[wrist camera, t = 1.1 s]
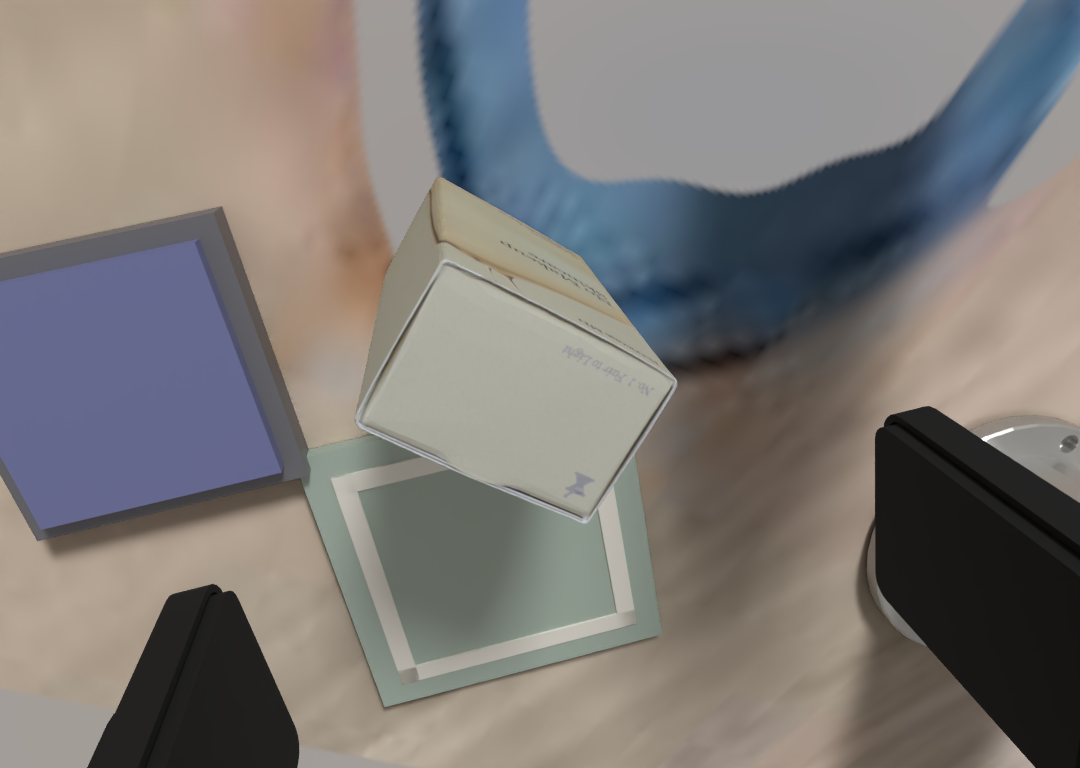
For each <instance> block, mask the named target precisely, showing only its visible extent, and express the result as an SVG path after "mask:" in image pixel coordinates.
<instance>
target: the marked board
mask: <svg viewBox="0 0 1080 768" xmlns="http://www.w3.org/2000/svg"><path fill="white" fill-rule="evenodd" d="M307 459H308V462H309V465H310V468H311V469H310V473H309V476H307V477H303V478H300V479H301V482H302V485H303V487H304V490H305V493H306V495H307V498H308V501H309V504H310V506H311V509H312V512H313V514H314V517H315V520H316V523H317V525H318V528H319V531H320V533H321V536H322V539H323V542H324V544H325V547H326V550H327V552H328V555H329V558H330V561H331V563H332V566H333V569H334V571H335V574H336V577H337V580H338V582H339V585H340V588H341V590H342V593H343V596H344V599H345V601H346V604H347V607H348V609H349V612H350V615H351V618H352V620H353V623H354V626H355V628H356V631H357V634H358V637H359V639H360V642H361V645H362V647H363V650H364V653H365V656H366V658H367V661H368V664H369V666H370V669H371V672H372V675H373V677H374V680H375V683H376V685H377V688H378V691H379V694H380V696H381V699H382V702H383V704H384V707H388V706H392V705H395V704H399V703H403V702H407V701H411V700H414V699H418V698H422V697H426V696H430V695H433V694H437V693H441V692H445V691H449V690H452V689H456V688H460V687H464V686H468V685H471V684H475V683H479V682H483V681H487V680H491V679H494V678H498V677H502V676H506V675H510V674H513V673H517V672H521V671H525V670H529V669H532V668H536V667H540V666H544V665H548V664H551V663H555V662H559V661H563V660H567V659H570V658H574V657H578V656H582V655H586V654H590V653H593V652H597V651H601V650H605V649H609V648H612V647H616V646H620V645H624V644H628V643H631V642H635V641H639V640H643V639H647V638H650V637H654V636H658V635H662V630H661V623H660V616H659V610H658V603H657V597H656V590H655V584H654V577H653V570H652V564H651V557H650V551H649V544H648V537H647V531H646V524H645V518H644V511H643V505H642V498H641V491H640V485H639V478H638V472H637V465H636V458H635V454H634V456H633V457H632V459H631V460H630V462H629V464H628V465H627V467H626V468H625V470H624V471H623V473H622V474H621V475H620V477H619V478H618V480H617V482H616V483H615V484H614V486H613V487H612V489H611V490H610V492H609V493H608V495H607V496H606V498H605V499H604V501H603V502H602V503H601V505H600V506H599V507H598V509H597V510H596V512H595V513H594V515H593V517H592V518H591V520H590V521H589V523H588V524H582V523H579V522H577V521H574V520H572V519H570V518H568V517H565V516H563V515H560V514H557V513H555V512H553V511H550V510H548V509H545V508H542V507H540V506H538V505H535V504H533V503H531V502H528V501H526V500H523V499H521V498H518V497H516V496H513V495H510V494H508V493H506V492H504V491H501V490H499V489H496V488H494V487H491V486H489V485H486V484H484V483H482V482H479V481H477V480H474V479H472V478H469V477H467V476H465V475H462V474H460V473H458V472H456V471H454V470H451V469H449V468H447V467H445V466H442V465H440V464H438V463H436V462H433V461H431V460H429V459H427V458H424V457H422V456H420V455H418V454H416V453H414V452H411V451H408V450H406V449H404V448H401V447H399V446H397V445H395V444H393V443H391V442H389V441H386V440H384V439H382V438H380V437H377V436H375V435H369V436H365V437H361V438H357V439H352V440H348V441H344V442H340V443H336V444H331V445H327V446H323V447H319V448H314V449H310V450H308V454H307Z"/></svg>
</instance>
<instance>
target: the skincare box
mask: <svg viewBox="0 0 1080 768" xmlns="http://www.w3.org/2000/svg"><path fill="white" fill-rule="evenodd" d="M676 388H677V380H676V379H675V377H674V376H673V375H672V374H671V373H670V372H669V370H668V369H667V368H666V367H665V366H664V364H663V363H662V362H661V361H660V359H659V358H658V357H657V355H656V354H655V353H654V352H653V351H652V349H651V348H650V347H649V345H648V344H647V343H646V341H645V340H644V339H643V337H642V336H641V335H640V333H639V332H638V331H637V330H636V328H635V327H634V326H633V325H632V324H631V322H630V321H629V320H628V318H627V317H626V316H625V314H624V313H623V312H622V310H621V309H620V308H619V306H618V305H617V304H616V302H615V301H614V300H613V299H612V297H611V296H610V295H609V293H608V292H607V291H606V289H605V288H604V287H603V285H602V284H601V283H600V281H599V280H598V279H597V277H596V276H595V275H594V274H593V272H592V271H591V270H590V268H589V267H588V266H587V264H586V263H585V262H584V260H583V259H582V258H581V257H580V256H579V255H577V254H575V253H573V252H572V251H570V250H568V249H567V248H565V247H563V246H561V245H560V244H558V243H556V242H555V241H553V240H551V239H550V238H548V237H546V236H545V235H543V234H541V233H540V232H538V231H536V230H535V229H533V228H531V227H529V226H528V225H526V224H524V223H522V222H521V221H519V220H517V219H515V218H514V217H512V216H510V215H509V214H507V213H505V212H503V211H501V210H499V209H498V208H496V207H494V206H492V205H490V204H489V203H487V202H485V201H483V200H481V199H480V198H478V197H476V196H474V195H472V194H471V193H469V192H467V191H465V190H463V189H462V188H460V187H458V186H456V185H454V184H453V183H451V182H449V181H447V180H445V179H444V178H441V177H437V178H436V180H435V181H434V183H433V185H432V187H431V189H430V190H429V192H428V194H427V196H426V198H425V199H424V201H423V203H422V205H421V207H420V208H419V210H418V212H417V214H416V216H415V218H414V220H413V222H412V224H411V225H410V227H409V229H408V231H407V233H406V235H405V237H404V239H403V240H402V242H401V244H400V246H399V248H398V250H397V252H396V254H395V256H394V258H393V260H392V262H391V264H390V266H389V268H388V270H387V272H386V275H385V280H384V284H383V289H382V293H381V298H380V303H379V308H378V313H377V317H376V322H375V326H374V332H373V337H372V341H371V345H370V350H369V355H368V360H367V365H366V370H365V374H364V379H363V384H362V388H361V392H360V397H359V402H358V406H357V410H356V414H355V422H356V424H357V426H358V427H359V428H361V429H362V430H364V431H366V432H368V433H371V434H373V435H375V436H377V437H380V438H382V439H384V440H386V441H389V442H391V443H393V444H395V445H397V446H399V447H401V448H404V449H406V450H408V451H411V452H414V453H416V454H418V455H420V456H422V457H424V458H427V459H429V460H431V461H433V462H436V463H438V464H440V465H442V466H445V467H447V468H449V469H451V470H454V471H456V472H458V473H460V474H462V475H465V476H467V477H469V478H472V479H474V480H477V481H479V482H482V483H484V484H486V485H489V486H491V487H494V488H496V489H499V490H501V491H504V492H506V493H508V494H510V495H513V496H516V497H518V498H521V499H523V500H526V501H528V502H531V503H533V504H535V505H538V506H540V507H542V508H545V509H548V510H550V511H553V512H555V513H557V514H560V515H563V516H565V517H568V518H570V519H572V520H574V521H577V522H579V523H582V524H588V523H589V521H590V520H591V518H592V517H593V515H594V513H595V512H596V510H597V509H598V507H599V506H600V505H601V503H602V502H603V501H604V499H605V498H606V496H607V495H608V493H609V492H610V490H611V489H612V487H613V486H614V484H615V483H616V482H617V480H618V478H619V477H620V475H621V474H622V473H623V471H624V470H625V468H626V467H627V465H628V464H629V462H630V460H631V459H632V457H633V456H634V454H635V453H636V451H637V450H638V448H639V447H640V445H641V444H642V442H643V441H644V440H645V438H646V437H647V435H648V433H649V432H650V430H651V429H652V427H653V426H654V424H655V422H656V421H657V419H658V417H659V416H660V414H661V413H662V411H663V409H664V408H665V406H666V405H667V403H668V401H669V400H670V398H671V396H672V395H673V393H674V392H675V390H676Z"/></svg>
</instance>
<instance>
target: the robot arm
mask: <svg viewBox="0 0 1080 768" xmlns="http://www.w3.org/2000/svg"><path fill="white" fill-rule="evenodd" d="M867 577H868V582H869V588H870V592H871V594H872V596H873V598H874V600H875V603H876V605H877V607H878V608H879V609H880V611H881V612H882V613H883V614H884V616H885V617H886V618H887V619H888V620H889V622H890V623H891V624H892V625H893V626H894V627H895V628H896V629H897V630H898V631H899V632H900V633H902V634H903V635H904V636H905V637H906V638H908V639H910V640H912V641H914V642H916V643H918V644H920V645H922V646H925V647H928V648H929V649H930V650H931V651H932V652H933V653H934V654H935V655H936V657H937V658H938V659H939V660H940V661H941V662H942V663H943V664H944V666H945V667H946V668H947V669H948V670H949V671H950V672H951V673H952V675H953V676H954V677H955V678H956V679H957V680H958V681H959V682H960V684H961V685H962V686H963V687H964V688H965V689H966V690H967V691H968V692H969V694H970V695H971V696H972V697H973V698H974V699H975V700H976V701H977V703H978V704H979V705H980V706H981V707H982V708H983V709H984V710H985V712H986V713H987V714H988V715H989V716H990V717H991V718H992V719H993V720H994V722H995V723H996V724H997V725H998V726H999V727H1000V728H1001V729H1002V731H1003V732H1004V733H1005V734H1006V735H1007V736H1008V737H1009V738H1010V740H1011V741H1012V742H1013V743H1014V744H1015V745H1016V746H1017V747H1018V748H1019V750H1020V751H1021V752H1022V753H1023V754H1024V755H1025V756H1026V757H1027V759H1028V760H1029V761H1030V762H1031V763H1032V764H1033V765H1034V766H1035V768H1080V427H1078V426H1077V425H1074V424H1071V423H1069V422H1066V421H1064V420H1061V419H1058V418H1052V417H1044V416H1037V415H1034V416H1019V417H1010V418H1006V419H1002V420H998V421H994V422H990V423H986V424H984V425H982V426H979V427H977V428H975V429H972V430H970V431H969V430H967V429H966V428H964V427H963V426H961V425H959V424H958V423H956V422H955V421H953V420H952V419H950V418H949V417H947V416H946V415H944V414H943V413H941V412H940V411H938V410H936V409H935V408H932V407H930V406H927V407H921V408H917V409H913V410H909V411H905V412H901V413H897V414H893V415H890V416H889V417H887V418H886V421H885V423H884V427H882V428H879V429H878V430H877V432H876V436H875V528H874V530H873V533H872V537H871V541H870V545H869V549H868V556H867ZM298 759H299V740H298V735H297V731H296V728H295V725H294V723H293V721H292V719H291V716H290V714H289V712H288V710H287V707H286V705H285V703H284V701H283V698H282V696H281V694H280V692H279V689H278V687H277V685H276V683H275V680H274V678H273V676H272V674H271V671H270V669H269V667H268V665H267V662H266V660H265V658H264V656H263V653H262V651H261V649H260V647H259V644H258V642H257V640H256V638H255V636H254V633H253V631H252V629H251V627H250V624H249V622H248V620H247V618H246V615H245V613H244V611H243V609H242V606H241V604H240V602H239V600H238V598H237V596H236V594H235V593H234V592H233V591H227V592H222V590H221V589H220V588H219V587H218V586H217V585H214V584H211V585H207V586H203V587H199V588H195V589H191V590H187V591H183V592H179V593H175V594H172V595H170V596H169V597H168V599H167V600H166V602H165V604H164V607H163V609H162V611H161V613H160V615H159V618H158V620H157V622H156V624H155V626H154V629H153V631H152V633H151V635H150V637H149V640H148V642H147V644H146V646H145V649H144V651H143V653H142V655H141V657H140V660H139V662H138V664H137V666H136V668H135V671H134V673H133V675H132V677H131V679H130V682H129V684H128V686H127V688H126V690H125V693H124V695H123V697H122V699H121V701H120V704H119V706H118V708H117V710H116V712H115V714H113V716H112V718H111V719H110V721H109V722H108V724H107V726H106V728H105V730H104V732H103V735H102V737H101V739H100V741H99V743H98V745H97V748H96V750H95V752H94V754H93V757H92V759H91V761H90V763H89V765H88V767H87V768H297V766H298Z"/></svg>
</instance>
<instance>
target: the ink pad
mask: <svg viewBox="0 0 1080 768" xmlns="http://www.w3.org/2000/svg"><path fill="white" fill-rule="evenodd" d="M307 454H308V447H307V444H306V441H305V438H304V436H303V433H302V430H301V427H300V424H299V421H298V419H297V416H296V413H295V410H294V407H293V405H292V402H291V399H290V396H289V393H288V391H287V388H286V385H285V382H284V379H283V377H282V374H281V371H280V368H279V365H278V363H277V360H276V357H275V354H274V351H273V349H272V346H271V343H270V340H269V337H268V335H267V332H266V329H265V326H264V323H263V320H262V318H261V315H260V312H259V309H258V306H257V304H256V301H255V298H254V295H253V292H252V290H251V287H250V284H249V281H248V278H247V276H246V273H245V270H244V267H243V264H242V262H241V259H240V256H239V253H238V250H237V248H236V245H235V242H234V239H233V236H232V234H231V231H230V228H229V225H228V222H227V220H226V217H225V214H224V211H223V208H222V207H217V208H212V209H208V210H203V211H198V212H194V213H189V214H184V215H179V216H175V217H170V218H165V219H161V220H156V221H151V222H146V223H142V224H137V225H132V226H128V227H123V228H118V229H113V230H109V231H104V232H99V233H95V234H90V235H85V236H80V237H76V238H71V239H66V240H62V241H57V242H52V243H47V244H43V245H38V246H33V247H29V248H24V249H19V250H14V251H10V252H5V253H0V475H1V477H2V479H3V480H4V482H5V484H6V486H7V488H8V489H9V491H10V493H11V495H12V497H13V498H14V500H15V502H16V504H17V505H18V507H19V509H20V511H21V513H22V514H23V516H24V518H25V520H26V522H27V523H28V525H29V527H30V529H31V530H32V532H33V534H34V536H35V538H36V539H37V541H40V540H44V539H48V538H52V537H56V536H60V535H65V534H69V533H73V532H77V531H81V530H86V529H90V528H94V527H98V526H102V525H106V524H111V523H115V522H119V521H123V520H127V519H132V518H136V517H140V516H144V515H148V514H152V513H157V512H161V511H165V510H169V509H173V508H178V507H182V506H186V505H190V504H194V503H198V502H203V501H207V500H211V499H215V498H219V497H224V496H228V495H232V494H236V493H240V492H244V491H249V490H253V489H257V488H261V487H265V486H270V485H274V484H278V483H282V482H286V481H290V480H295V479H299V478H303V477H307V476H309V473H310V469H311V468H310V465H309V462H308V459H307Z"/></svg>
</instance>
